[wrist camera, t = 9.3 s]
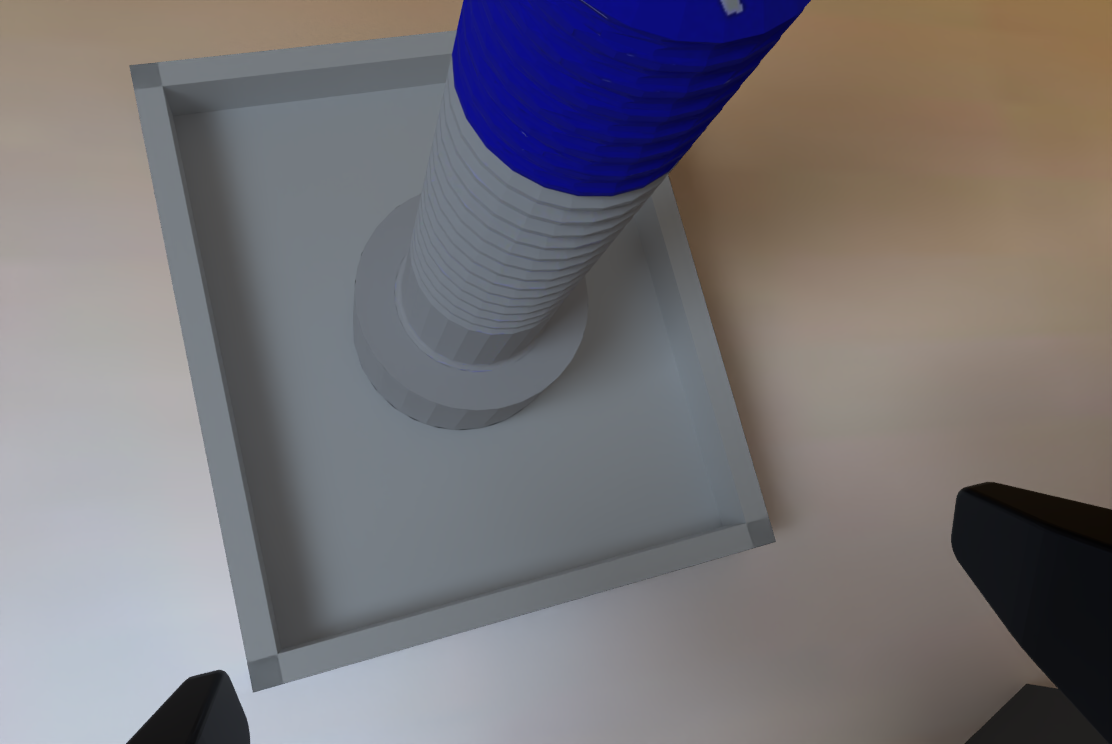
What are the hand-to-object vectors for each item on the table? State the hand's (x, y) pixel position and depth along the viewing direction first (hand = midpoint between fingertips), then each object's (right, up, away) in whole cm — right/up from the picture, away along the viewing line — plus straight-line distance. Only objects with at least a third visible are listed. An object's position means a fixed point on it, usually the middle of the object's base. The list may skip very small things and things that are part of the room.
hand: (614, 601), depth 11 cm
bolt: (-3, +4, +12) cm, 13 cm away
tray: (-3, +4, +12) cm, 13 cm away
